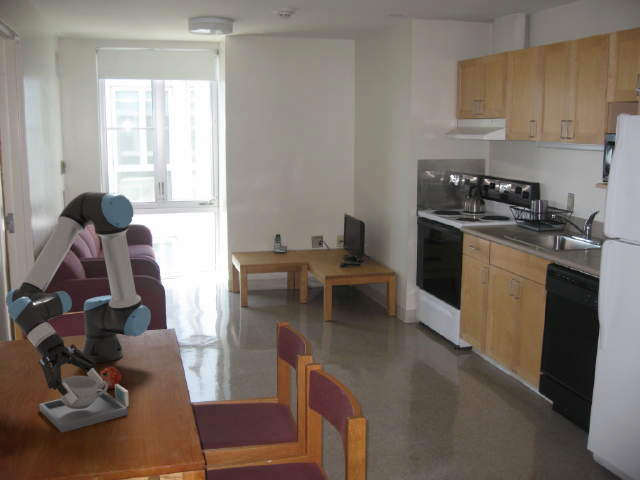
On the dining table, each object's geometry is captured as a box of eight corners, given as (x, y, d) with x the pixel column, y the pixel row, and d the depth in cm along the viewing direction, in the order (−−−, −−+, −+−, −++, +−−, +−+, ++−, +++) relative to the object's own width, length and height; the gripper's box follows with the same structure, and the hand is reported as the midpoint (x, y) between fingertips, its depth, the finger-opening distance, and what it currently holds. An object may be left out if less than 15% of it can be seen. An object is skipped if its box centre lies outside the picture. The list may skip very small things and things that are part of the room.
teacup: (58, 412, 206) (61, 387, 205) (58, 397, 216) (61, 373, 214) (106, 413, 211) (110, 388, 210) (104, 398, 221) (108, 375, 220)
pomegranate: (107, 388, 239) (88, 379, 231) (117, 369, 241) (99, 359, 233) (121, 396, 235) (102, 386, 227) (132, 376, 237) (113, 366, 229)
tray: (102, 394, 228) (101, 388, 227) (127, 414, 212) (127, 407, 212) (39, 410, 215) (39, 403, 215) (62, 432, 200) (61, 425, 199)
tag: (118, 398, 225) (117, 383, 224) (128, 406, 219) (128, 391, 218) (114, 399, 224) (113, 384, 223) (124, 407, 218) (124, 392, 217)
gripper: (67, 336, 227) (107, 386, 224) (10, 359, 205) (54, 416, 202) (79, 322, 224) (120, 373, 222) (22, 344, 202) (67, 401, 199)
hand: (89, 394), depth 212 cm, fingers closed on teacup, 12 cm apart
